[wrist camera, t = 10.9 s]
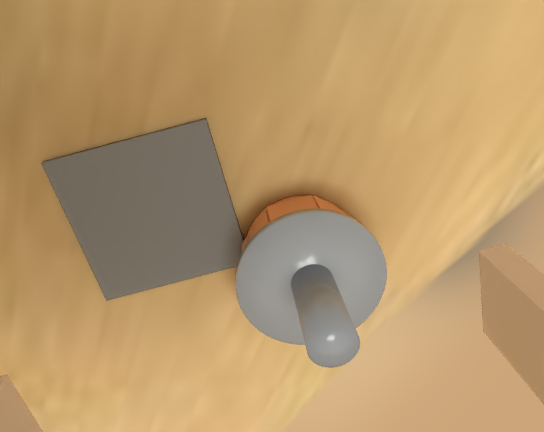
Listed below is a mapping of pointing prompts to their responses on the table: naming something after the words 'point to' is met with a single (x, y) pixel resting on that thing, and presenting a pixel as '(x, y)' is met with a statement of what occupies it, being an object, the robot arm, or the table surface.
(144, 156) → the mat
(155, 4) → the table surface
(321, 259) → the lid
